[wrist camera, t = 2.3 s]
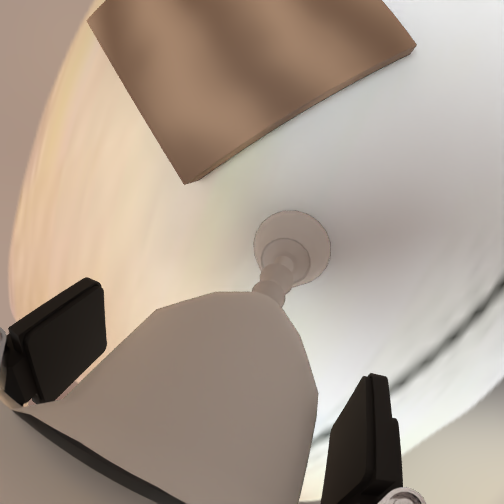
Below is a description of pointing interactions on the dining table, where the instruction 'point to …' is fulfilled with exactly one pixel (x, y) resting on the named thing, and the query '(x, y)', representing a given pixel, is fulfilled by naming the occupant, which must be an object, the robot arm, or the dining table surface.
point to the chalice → (210, 386)
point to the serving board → (239, 65)
